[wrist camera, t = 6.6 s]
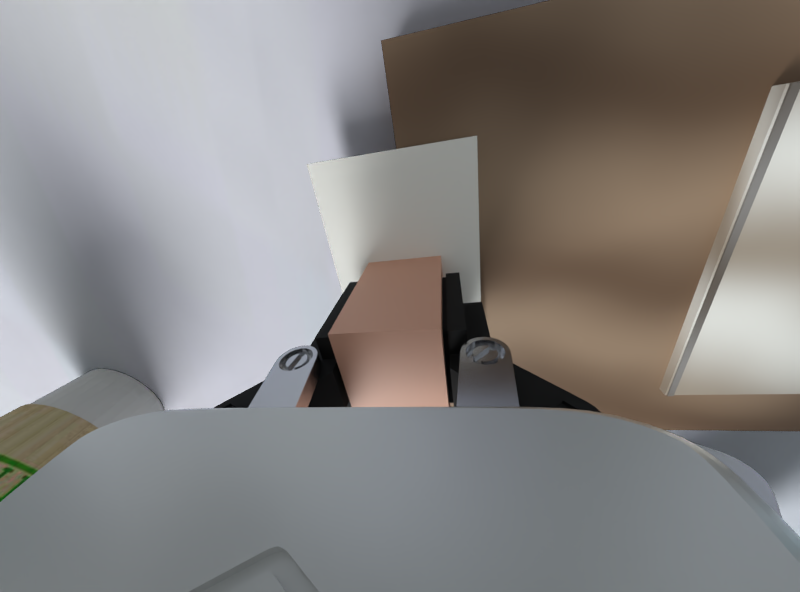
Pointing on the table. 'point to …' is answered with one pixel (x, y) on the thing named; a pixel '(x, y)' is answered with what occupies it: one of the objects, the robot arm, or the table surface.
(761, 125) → the board
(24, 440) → the coffee cup
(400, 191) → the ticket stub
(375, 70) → the table surface
